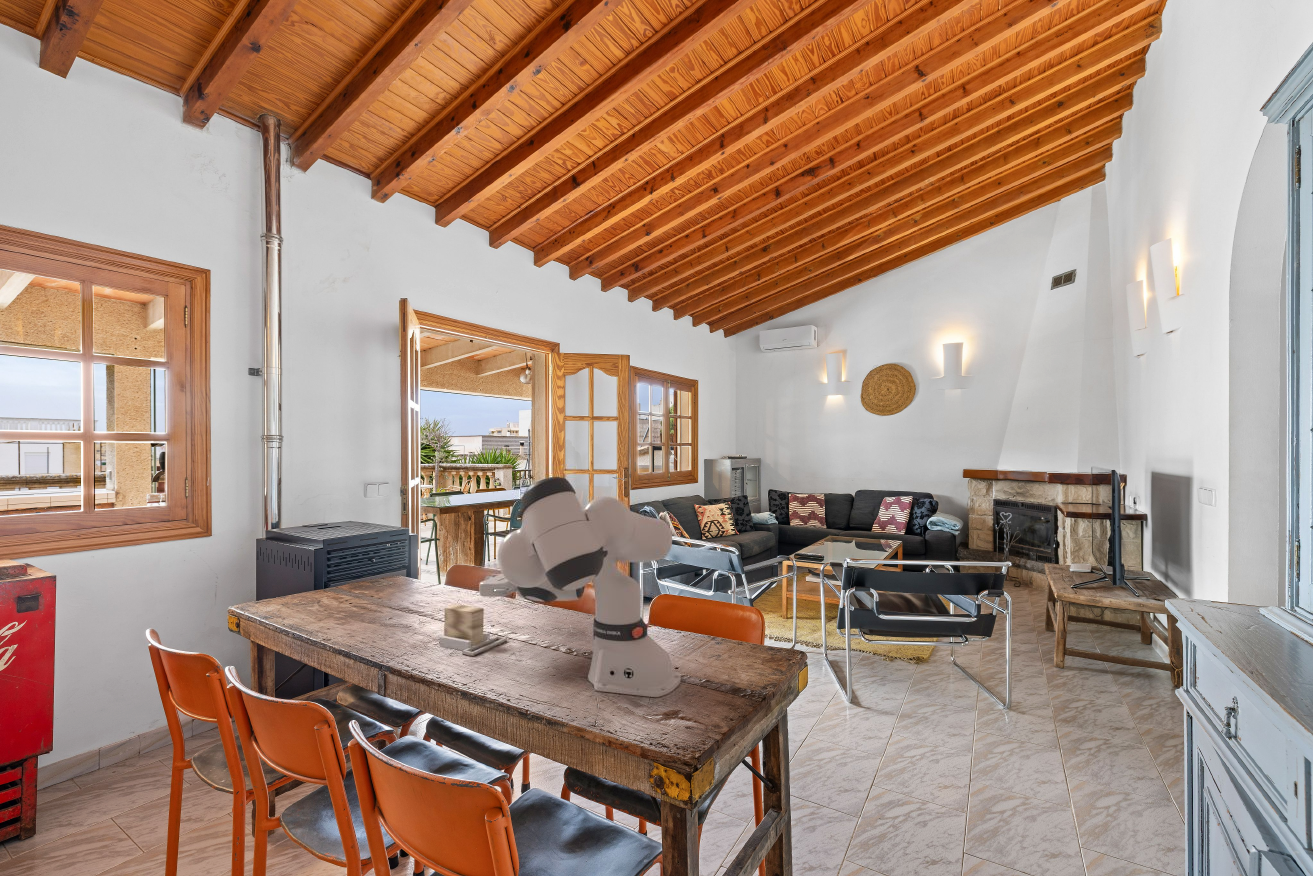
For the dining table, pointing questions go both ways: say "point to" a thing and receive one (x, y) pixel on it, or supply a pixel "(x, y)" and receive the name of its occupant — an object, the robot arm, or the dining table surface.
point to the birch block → (464, 623)
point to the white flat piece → (459, 642)
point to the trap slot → (484, 646)
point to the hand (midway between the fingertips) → (487, 578)
